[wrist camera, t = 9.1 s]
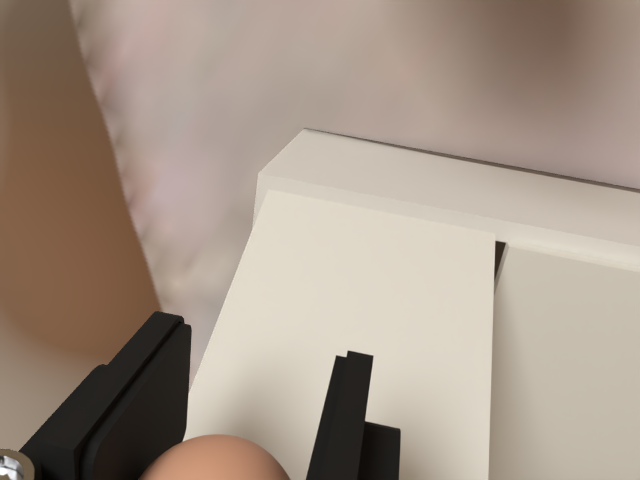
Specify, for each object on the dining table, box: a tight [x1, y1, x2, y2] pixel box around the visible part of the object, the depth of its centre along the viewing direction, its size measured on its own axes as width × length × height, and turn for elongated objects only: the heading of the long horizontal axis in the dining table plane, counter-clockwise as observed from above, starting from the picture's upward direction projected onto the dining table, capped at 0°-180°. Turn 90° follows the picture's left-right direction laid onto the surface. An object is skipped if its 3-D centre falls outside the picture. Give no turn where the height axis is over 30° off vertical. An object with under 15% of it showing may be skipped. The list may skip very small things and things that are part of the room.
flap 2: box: [488, 241, 640, 480], centre depth 20 cm, size 8×13×6 cm, turn 171°
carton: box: [252, 128, 640, 281], centre depth 27 cm, size 18×15×9 cm
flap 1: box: [138, 189, 495, 480], centre depth 14 cm, size 8×13×6 cm
